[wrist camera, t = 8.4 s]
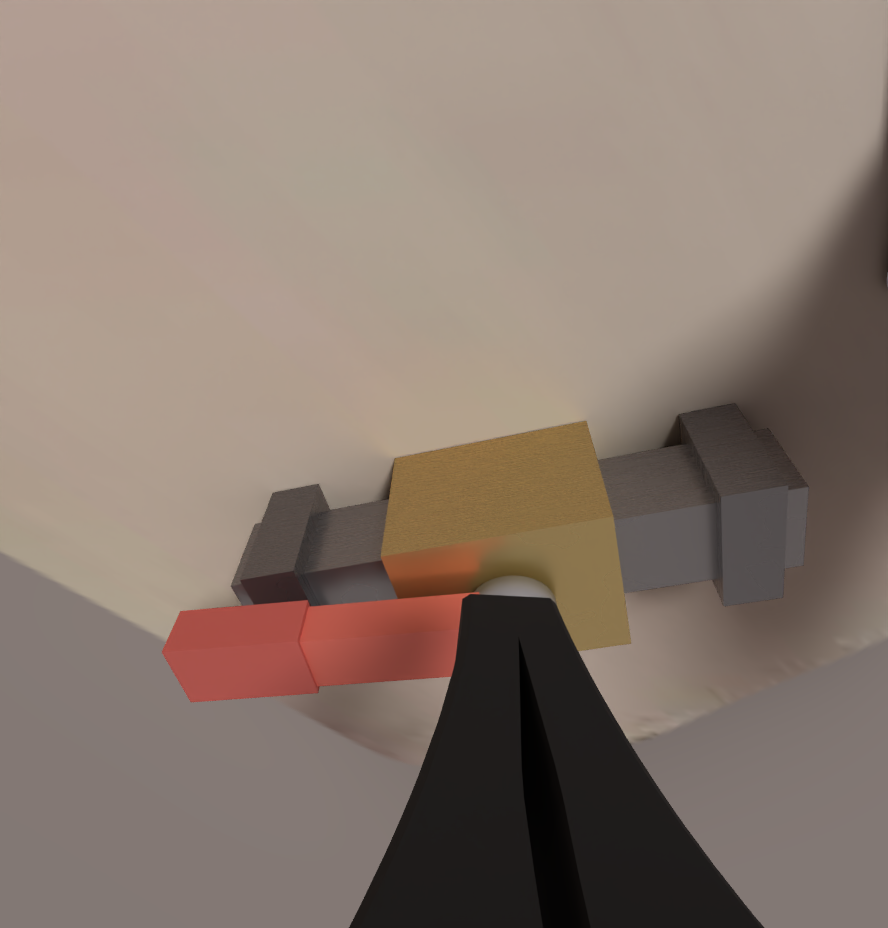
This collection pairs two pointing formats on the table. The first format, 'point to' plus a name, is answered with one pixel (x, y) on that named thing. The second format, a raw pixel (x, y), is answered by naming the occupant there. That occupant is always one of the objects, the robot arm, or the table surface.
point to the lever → (321, 643)
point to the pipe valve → (548, 525)
